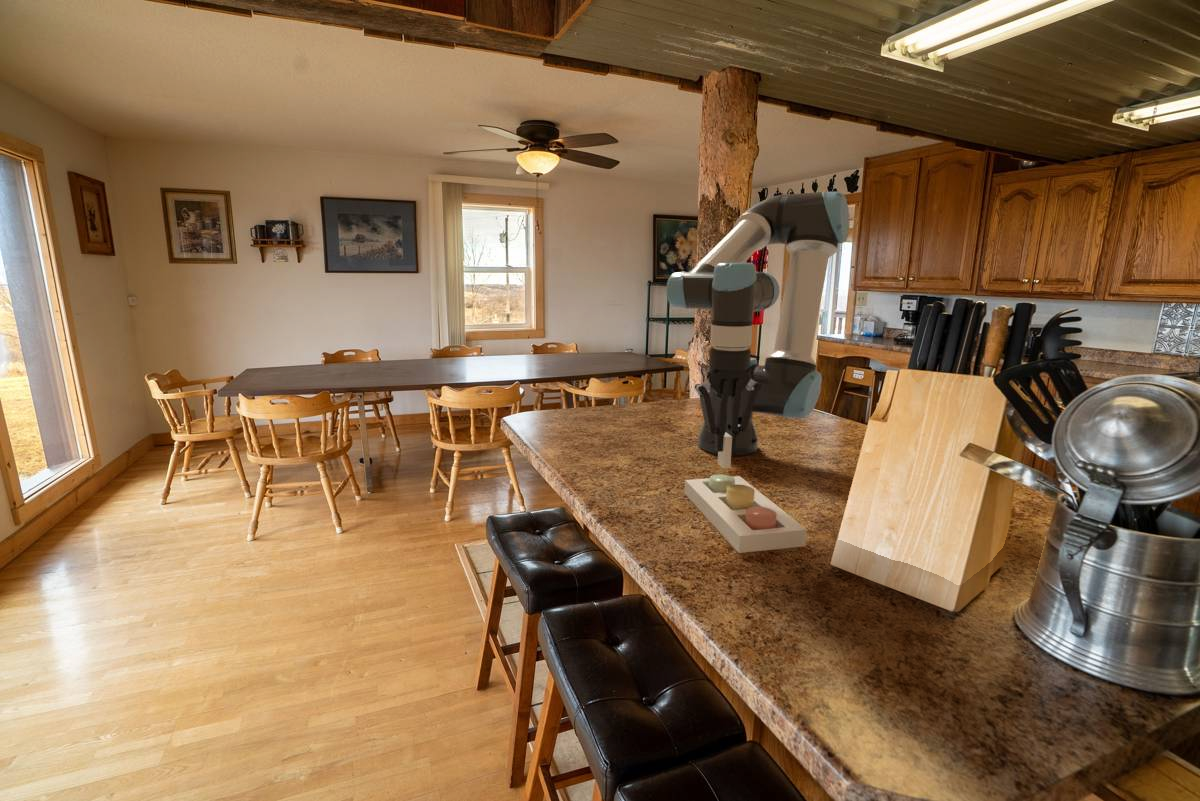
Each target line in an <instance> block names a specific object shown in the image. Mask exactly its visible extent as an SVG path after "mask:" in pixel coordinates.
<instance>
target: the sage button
mask: <svg viewBox="0 0 1200 801" xmlns="http://www.w3.org/2000/svg"><path fill="white" fill-rule="evenodd" d="M733 477H734V476H730V475H727V474H712V475H710V476H709V489H710V490H711V491H712V492H713V493H721V492H726V491H727V487H728V486H730V485H735V479H734V478H733Z"/></svg>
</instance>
